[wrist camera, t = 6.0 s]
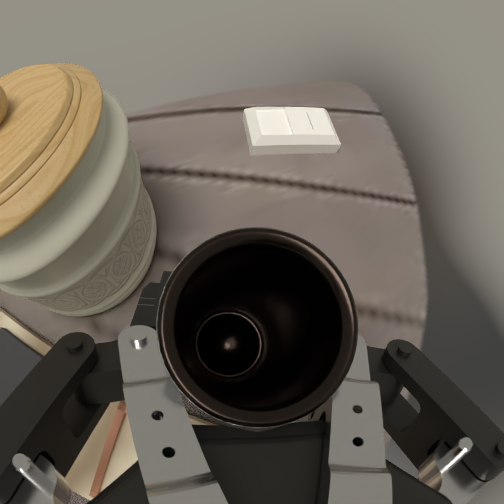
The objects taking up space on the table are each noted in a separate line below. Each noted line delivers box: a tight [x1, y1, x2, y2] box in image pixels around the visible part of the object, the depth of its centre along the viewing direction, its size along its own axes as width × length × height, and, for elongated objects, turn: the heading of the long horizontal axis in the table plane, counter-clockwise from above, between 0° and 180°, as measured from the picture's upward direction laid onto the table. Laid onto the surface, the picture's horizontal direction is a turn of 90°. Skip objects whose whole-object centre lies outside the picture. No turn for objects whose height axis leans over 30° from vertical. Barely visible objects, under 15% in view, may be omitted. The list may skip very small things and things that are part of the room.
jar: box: [0, 63, 157, 316], centre depth 15 cm, size 13×13×18 cm
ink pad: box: [0, 327, 44, 406], centre depth 17 cm, size 9×9×1 cm
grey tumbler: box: [156, 227, 358, 428], centre depth 11 cm, size 4×4×10 cm
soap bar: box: [243, 107, 341, 155], centre depth 29 cm, size 5×9×3 cm, turn 100°
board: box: [0, 307, 217, 500], centre depth 17 cm, size 26×11×2 cm, turn 70°
